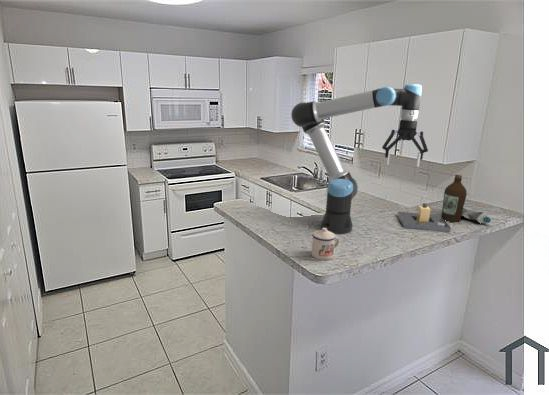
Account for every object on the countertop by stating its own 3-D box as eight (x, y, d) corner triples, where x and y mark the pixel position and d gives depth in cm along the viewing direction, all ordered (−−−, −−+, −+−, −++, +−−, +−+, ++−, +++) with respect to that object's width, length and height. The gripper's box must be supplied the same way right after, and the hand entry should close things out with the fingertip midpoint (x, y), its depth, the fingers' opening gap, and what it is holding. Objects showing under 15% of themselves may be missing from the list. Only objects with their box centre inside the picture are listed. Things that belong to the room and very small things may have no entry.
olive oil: (445, 215, 199) (452, 172, 193) (464, 220, 192) (473, 176, 185) (436, 219, 193) (444, 174, 186) (456, 224, 185) (464, 178, 178)
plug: (418, 225, 182) (422, 204, 179) (416, 221, 188) (419, 201, 185) (427, 226, 181) (431, 205, 178) (425, 222, 187) (428, 202, 184)
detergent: (440, 213, 204) (477, 227, 181) (443, 201, 202) (480, 213, 179) (457, 213, 208) (495, 227, 186) (460, 201, 207) (499, 214, 184)
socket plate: (403, 227, 177) (404, 221, 176) (397, 215, 196) (398, 209, 195) (449, 232, 173) (451, 225, 172) (439, 219, 192) (440, 213, 191)
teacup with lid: (318, 262, 136) (320, 233, 132) (306, 252, 143) (308, 225, 140) (344, 257, 141) (347, 230, 137) (331, 248, 148) (333, 222, 145)
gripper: (381, 118, 160) (375, 164, 166) (439, 121, 156) (432, 168, 161) (379, 118, 167) (374, 162, 173) (435, 120, 163) (428, 166, 169)
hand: (402, 165), depth 167 cm, fingers open, 13 cm apart
